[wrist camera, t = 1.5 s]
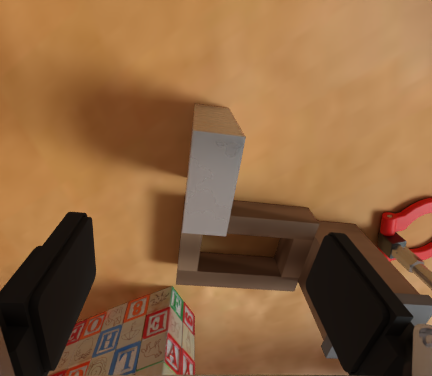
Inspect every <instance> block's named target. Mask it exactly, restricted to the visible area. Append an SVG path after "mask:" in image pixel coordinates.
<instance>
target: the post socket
mask: <svg viewBox="0 0 432 376" xmlns="http://www.w3.org/2000/svg"><path fill="white" fill-rule="evenodd" d="M184 206H185V201H184ZM183 217H184V211H183ZM182 228H183V220H182ZM330 232H335V233H344V234H346V235H347V236H348V237H349V239H350V240H351V241H352V242H353V243H354V245H355V246H356V247H357V248H358V250H359V251H360V252H361V253H362V254H363V256H364V257H365V258H366V259H367V261H368V262H369V263H370V264H371V265H372V267H373V268H374V269H375V270H376V272H377V273H378V274H379V275H380V276H381V278H382V279H383V280H384V281H385V283H386V284H387V285H388V286H389V287H390V289H391V290H392V291H393V292H394V293H395V295H396V296H397V297H398V298H399V300H400V301H401V302H402V303H403V304H404V306H405V307H406V308H407V309H408V311H409V312H410V313H411V314H412V315H413V319H412V320H411V323H412V324H413V325H414V326H416V325H417V324H426V323H427V322H428V320H429V319H430V317H431V316H432V298H431V297H430V296H429V295H420V294H419V293H418V292H417V291H416V290H415V288H414V287H413V286H412V285H411V284H410V283H409V282H408V281H407V280H406V279H405V278H404V276H403V275H402V274H401V273H400V272H399V271H398V270H397V269H396V268H395V267H394V266H393V265H392V263H391V262H390V261H389V260H388V259H387V258H386V257H385V256H384V255H383V254H382V253H381V252H380V250H379V249H378V248H377V247H376V246H375V245H374V244H373V243H372V242H371V241H370V240H369V239H368V237H367V236H366V235H365V234H364V233H363V232H362V231H361V230H360V229H359V228H358V227H357V225H356V224H347V223H336V222H325V221H317V219H316V218H315V217H314V215H313V214H312V212H311V211H310V210H309V208H306V207H296V206H285V205H275V204H265V203H255V202H244V201H234V200H233V204H232V209H231V214H230V219H229V224H228V229H227V233H228V234H240V235H252V236H264V237H276V238H280V240H279V244H278V247H277V250H276V253H275V257H274V258H273V257H259V256H245V255H232V254H218V253H205V252H200V248H201V242H202V234H190V233H182V230H181V239H180V249H179V258H178V268H177V279H176V284H177V285H194V286H211V287H228V288H245V289H262V290H279V291H295V288H296V285H297V283H299V285H300V287H301V289H302V292H303V294H304V296H305V299H306V301H307V303H308V305H309V308H310V310H311V312H312V315H313V317H314V319H315V321H316V324H317V326H318V328H319V331H320V333H321V335H322V337H323V340H324V341H323V343H322V345H321V347H322V350H323V352H324V355H325V357H326V358H337V359H338V357H337V355H336V353H335V350H334V348H333V346H332V344H331V342H330V340H329V338H328V335H327V333H326V331H325V329H324V327H323V325H322V323H321V320H320V318H319V316H318V314H317V312H316V310H315V308H314V305H313V303H312V301H311V299H310V297H309V295H308V293H307V290H306V280H307V278H308V275H309V273H310V270H311V268H312V265H313V263H314V260H315V258H316V255H317V253H318V250H319V248H320V245H321V243H322V240H323V238H324V236H326V235H328V234H329V233H330Z"/></svg>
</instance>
